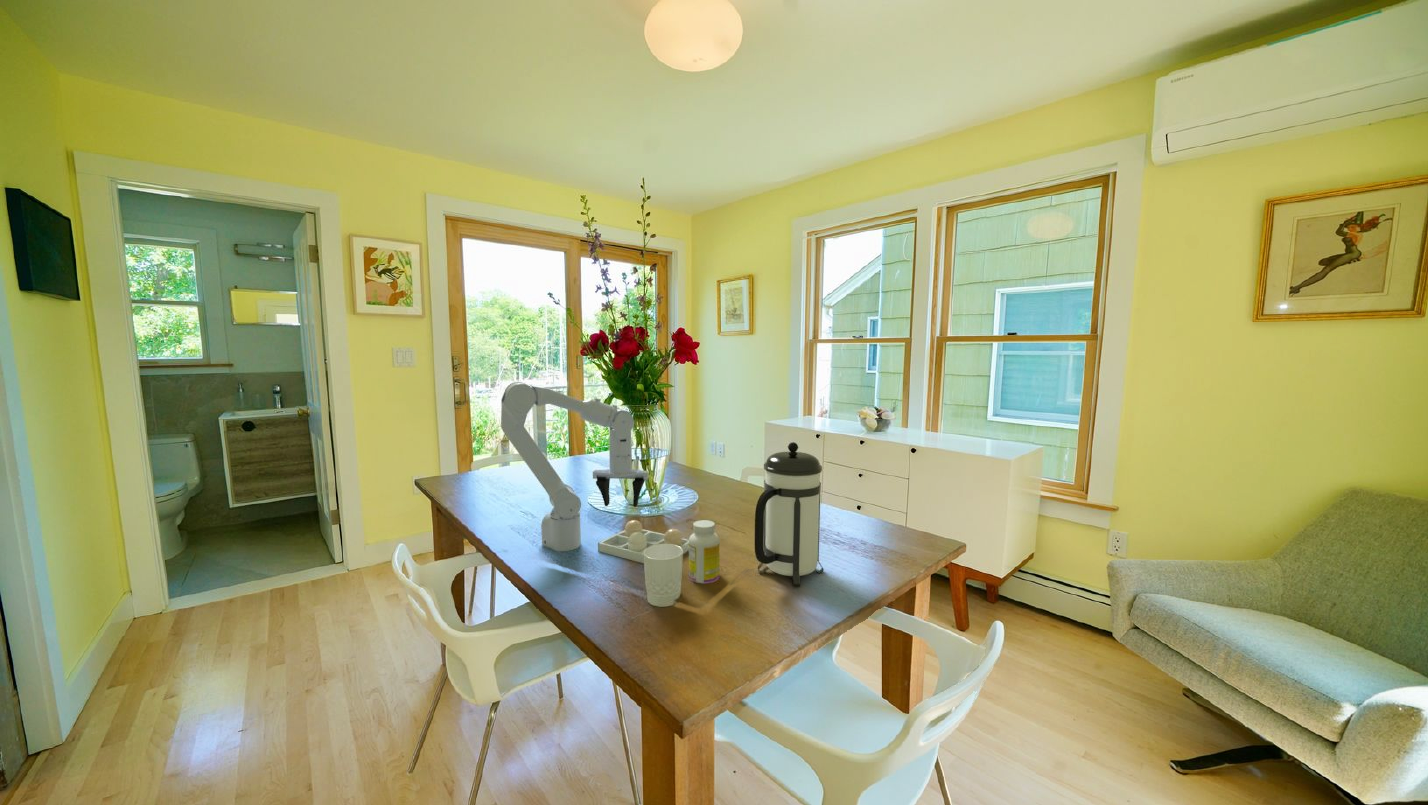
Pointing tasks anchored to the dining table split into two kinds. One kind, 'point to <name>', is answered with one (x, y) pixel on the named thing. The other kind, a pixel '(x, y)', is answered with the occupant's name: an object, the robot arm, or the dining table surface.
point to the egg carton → (620, 548)
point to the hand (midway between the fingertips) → (621, 505)
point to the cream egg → (637, 542)
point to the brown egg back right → (673, 537)
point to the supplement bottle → (704, 553)
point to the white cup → (663, 574)
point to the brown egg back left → (632, 527)
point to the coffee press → (789, 515)
